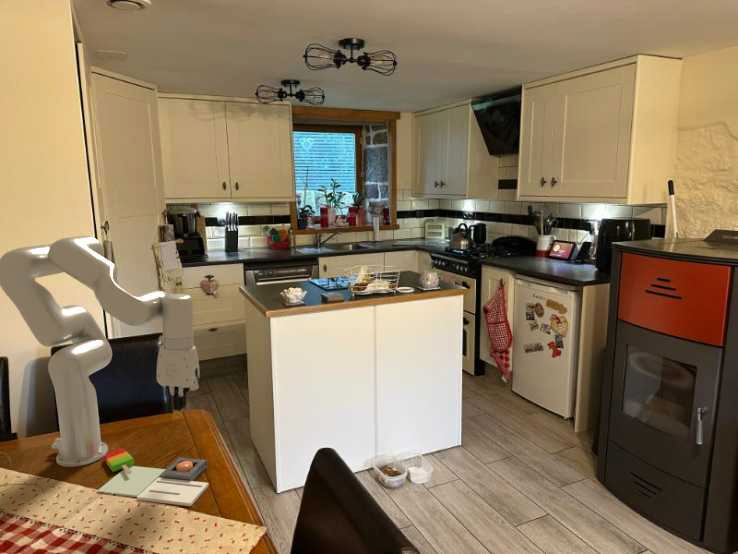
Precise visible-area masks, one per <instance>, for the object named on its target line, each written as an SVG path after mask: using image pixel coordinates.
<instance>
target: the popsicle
mask: <svg viewBox="0 0 738 554" xmlns="http://www.w3.org/2000/svg"><path fill="white" fill-rule="evenodd" d="M103 458H104V459H103V461H104V462H105V464H106V465H107V466H108V467H109V469H110V470H111V472H112V473H115V472H118V471H120V470H121V471H122V470H125V471H126V473H127V474H130V473H131V470H130V469H129V468H128V466H134V465H135V461H134V460H135V459H134V458H133V457H132V455H131V454H130V453H129V452H128V451H127V450H126V449H125V448H120V449H116V450H114V451H111V452H109V453H108V452H107V453H106V455H105V456H103Z"/></svg>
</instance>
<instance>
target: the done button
mask: <svg viewBox="0 0 738 554" xmlns="http://www.w3.org/2000/svg"><path fill="white" fill-rule="evenodd" d="M192 468H193V463H192V462H190V461H183V462H180V463H179V464H177V466H176V469H177V471H180V472H189V471H190V470H191V469H192Z"/></svg>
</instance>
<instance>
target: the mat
mask: <svg viewBox="0 0 738 554" xmlns="http://www.w3.org/2000/svg"><path fill="white" fill-rule="evenodd" d="M128 468H129V469H130V470H131V473H130V474H127V473H126V471H125V470H124V469H121V471H120V472H119V473H117V474H116V475H115V476H113V477H112V478H111V479H110V480H109V481H107V482H106V483H105V484H104V485H102V486H101V487H100V488H98V489H97V490H96V493H97V492H107V493H113V494H117V495H116V496H123V497H130V498H131V497H132V498H137V496H138V495H139V494H141V493H142V492H143V491H144V490H145V489H146V488H147V487H148V486H149V485H150V484H152V483H153V482H154V481H155V480H156V479H157V478H161V477H162V472H164V471H165V470H166V469H167V468H166V469H165V468H155V467H146V466H137V465H131V466H128ZM113 494H112V495H113Z"/></svg>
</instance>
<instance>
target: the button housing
mask: <svg viewBox="0 0 738 554" xmlns="http://www.w3.org/2000/svg"><path fill="white" fill-rule="evenodd" d="M183 461H190V462H192V463H193V468H192V469H191V470H190V471H189V472H180V471H177V469H176V466H177V464H179V463H180V462H183ZM207 467H208V463H207V459H201V458H199V459H198V458H189V457H180V456H179V457H177V459H175V460H174V461H173V462H172V463H171V464H170V465H169V466H168V467H167V468H166V470H165V471H164V472H162V475H161V478H168V479H177V480H186V481H195V480H196V479H197V478H198V477H199V476H200V475H201V474H202V473H203V472H204V471H205V470H206V468H207Z"/></svg>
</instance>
